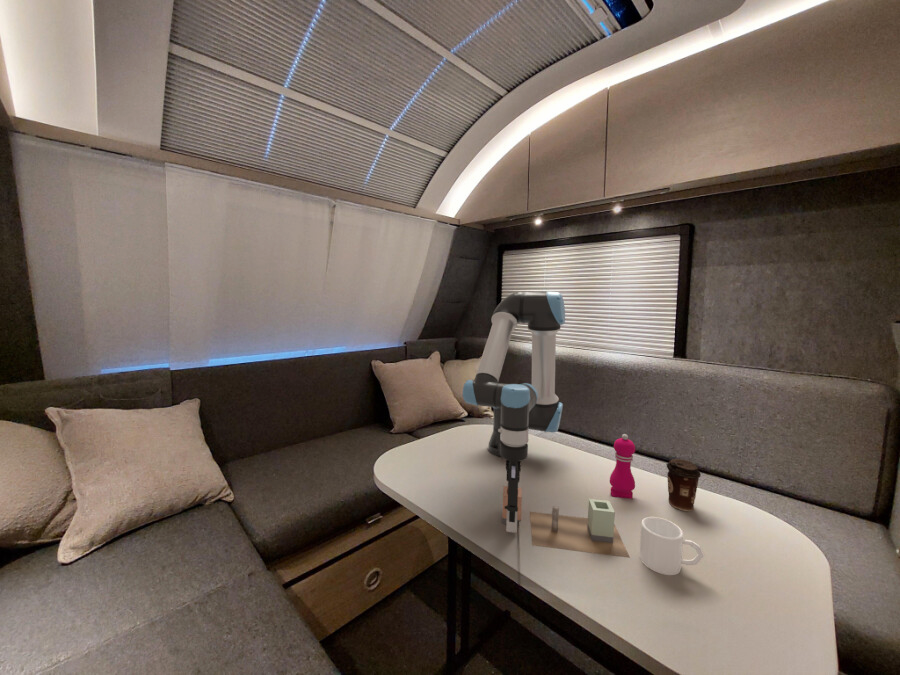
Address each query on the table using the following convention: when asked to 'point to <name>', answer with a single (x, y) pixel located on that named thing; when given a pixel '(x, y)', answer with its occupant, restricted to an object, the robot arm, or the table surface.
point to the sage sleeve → (601, 520)
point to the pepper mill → (623, 469)
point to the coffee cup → (682, 483)
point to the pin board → (571, 534)
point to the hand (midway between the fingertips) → (511, 516)
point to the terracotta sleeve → (505, 503)
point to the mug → (664, 546)
